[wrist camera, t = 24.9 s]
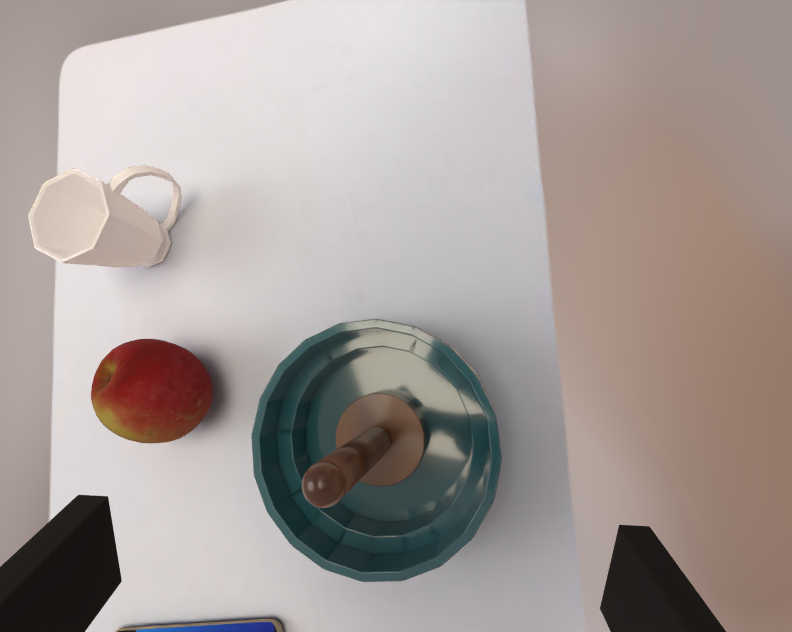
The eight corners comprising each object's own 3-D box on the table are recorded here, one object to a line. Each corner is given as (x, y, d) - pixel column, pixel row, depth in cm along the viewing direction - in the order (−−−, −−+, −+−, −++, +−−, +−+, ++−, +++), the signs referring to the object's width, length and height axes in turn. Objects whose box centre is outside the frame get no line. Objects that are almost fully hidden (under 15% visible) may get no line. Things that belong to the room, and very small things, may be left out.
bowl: (481, 314, 33) (482, 305, 27) (509, 537, 31) (517, 579, 25) (283, 339, 36) (244, 335, 30) (297, 544, 34) (260, 583, 28)
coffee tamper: (423, 386, 32) (381, 407, 18) (433, 474, 32) (397, 567, 18) (341, 394, 33) (243, 420, 19) (349, 479, 33) (252, 570, 19)
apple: (216, 328, 37) (145, 319, 29) (239, 420, 36) (172, 437, 28) (140, 355, 38) (53, 354, 30) (160, 446, 37) (75, 470, 29)
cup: (103, 244, 40) (10, 215, 32) (178, 167, 39) (102, 119, 31) (144, 298, 38) (58, 282, 31) (223, 220, 38) (155, 183, 30)
